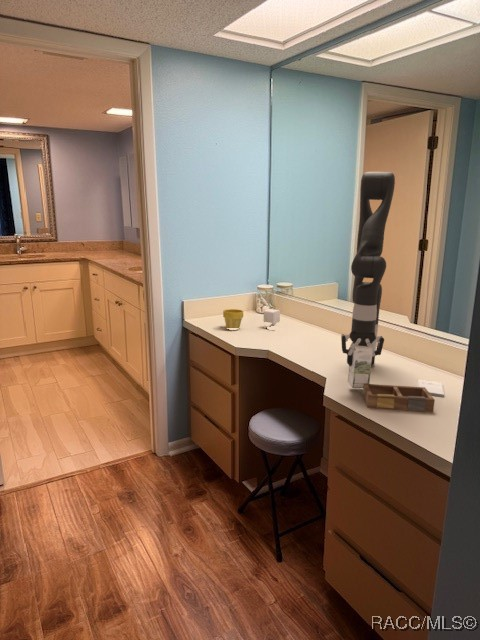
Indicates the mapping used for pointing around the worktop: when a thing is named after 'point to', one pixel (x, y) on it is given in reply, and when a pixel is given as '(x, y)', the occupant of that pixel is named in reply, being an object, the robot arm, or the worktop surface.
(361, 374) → the syrup box
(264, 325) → the worktop surface
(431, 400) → the socket block
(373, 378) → the worktop surface
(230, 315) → the plant pot
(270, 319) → the security camera
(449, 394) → the worktop surface
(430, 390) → the external hard drive
